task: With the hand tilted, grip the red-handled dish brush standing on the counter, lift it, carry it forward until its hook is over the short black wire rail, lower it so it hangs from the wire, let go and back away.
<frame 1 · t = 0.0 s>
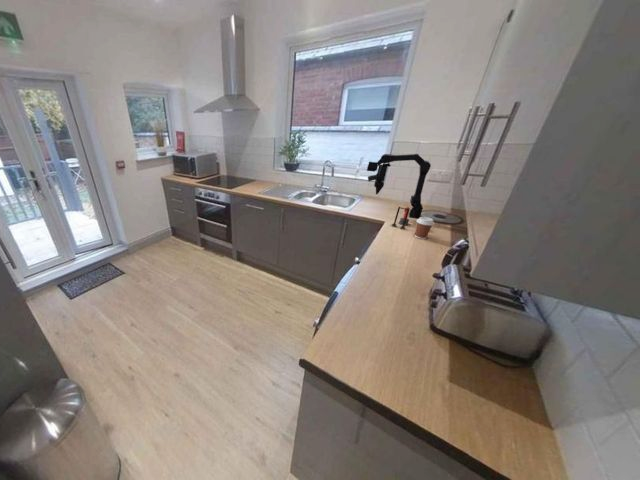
hand: (376, 192, 194), 15 cm above the worktop, tool pointing down, fingers open, 9 cm apart
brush: (403, 223, 178), on the worktop
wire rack: (398, 227, 173), on the worktop
coffee cup: (420, 236, 160), on the worktop
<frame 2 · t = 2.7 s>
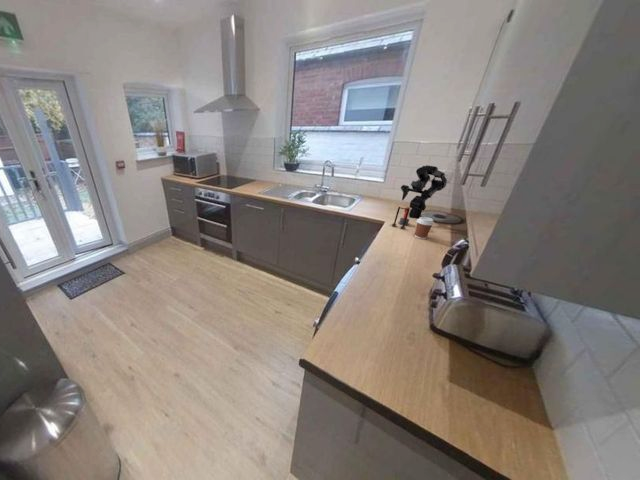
hand: (409, 201, 175), 14 cm above the worktop, tool tilted 40°, fingers open, 9 cm apart
nothing on the worktop moved.
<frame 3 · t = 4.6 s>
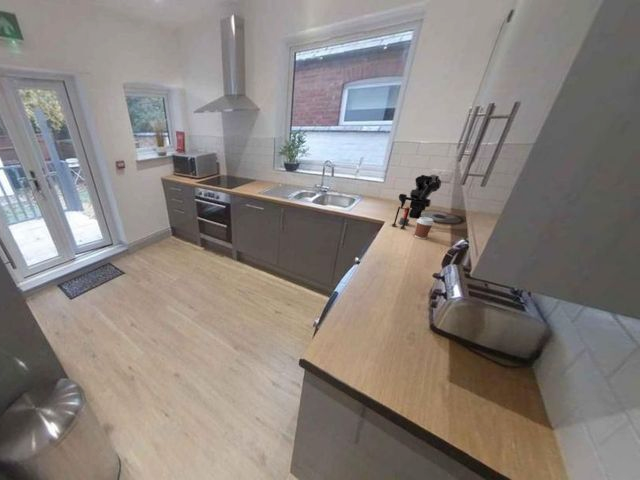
hand: (408, 210, 174), 10 cm above the worktop, tool tilted 45°, fingers open, 9 cm apart
nothing on the worktop moved.
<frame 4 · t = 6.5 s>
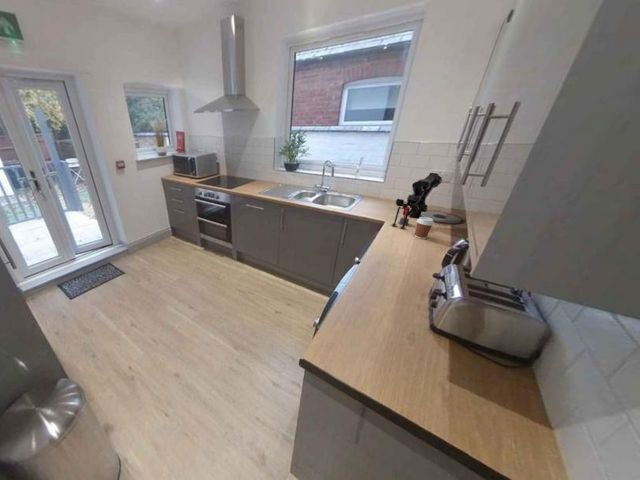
hand: (405, 215, 174), 7 cm above the worktop, tool tilted 45°, fingers closed on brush, 2 cm apart
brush: (403, 223, 178), on the worktop, touching gripper
everything else where it was.
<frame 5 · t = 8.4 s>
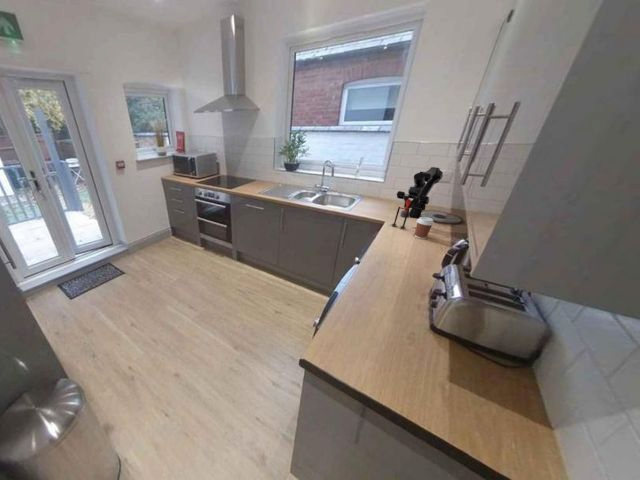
hand: (406, 207, 170), 13 cm above the worktop, tool tilted 45°, fingers closed on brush, 2 cm apart
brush: (404, 216, 174), point 6 cm above the worktop, touching gripper
everything else where it was.
when the fingers open (10 cm above the worktop, at t = 10.3 s): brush moves 1 cm, resting on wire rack.
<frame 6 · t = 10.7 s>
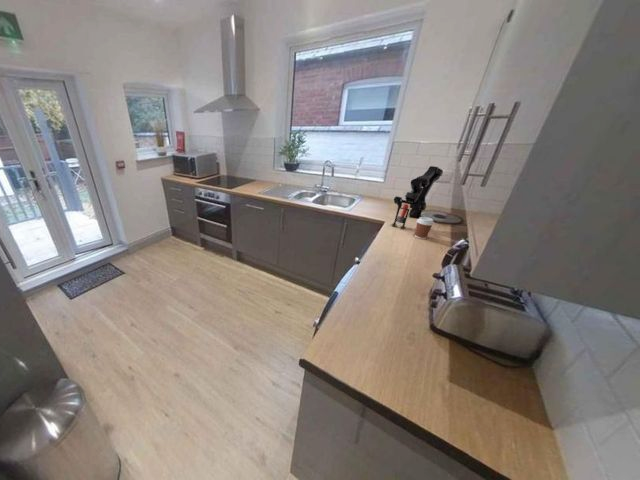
hand: (403, 213, 170), 9 cm above the worktop, tool tilted 45°, fingers open, 7 cm apart
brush: (400, 222, 172), point 3 cm above the worktop, tilted 14°, touching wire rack
everything else where it was.
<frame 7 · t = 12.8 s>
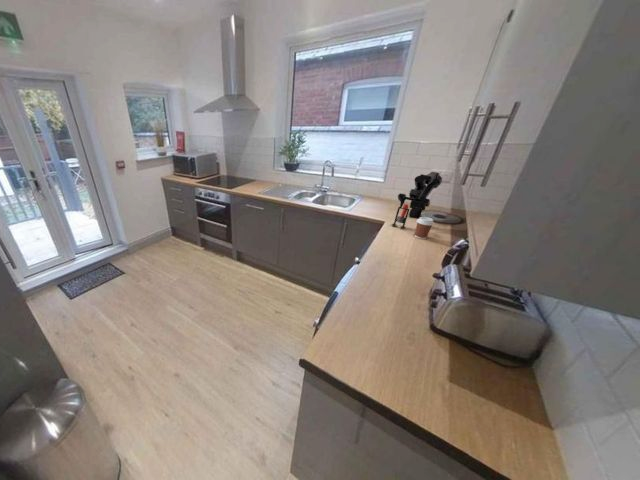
hand: (407, 210, 173), 10 cm above the worktop, tool tilted 45°, fingers open, 9 cm apart
nothing on the worktop moved.
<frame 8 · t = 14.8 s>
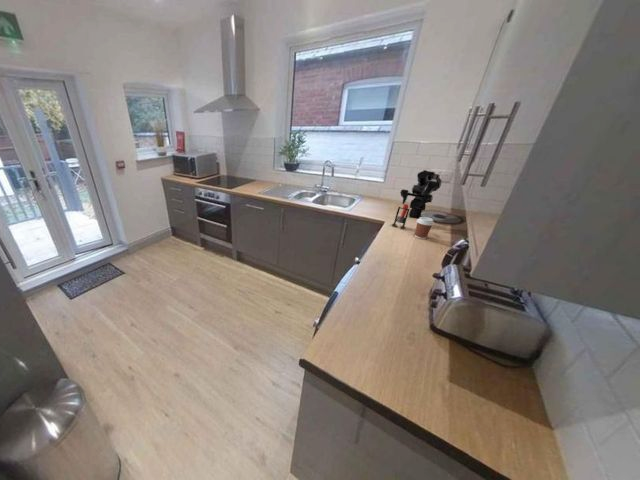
hand: (410, 205, 173), 13 cm above the worktop, tool tilted 45°, fingers open, 9 cm apart
nothing on the worktop moved.
at the end: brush touching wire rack; the gripper is holding nothing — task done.
